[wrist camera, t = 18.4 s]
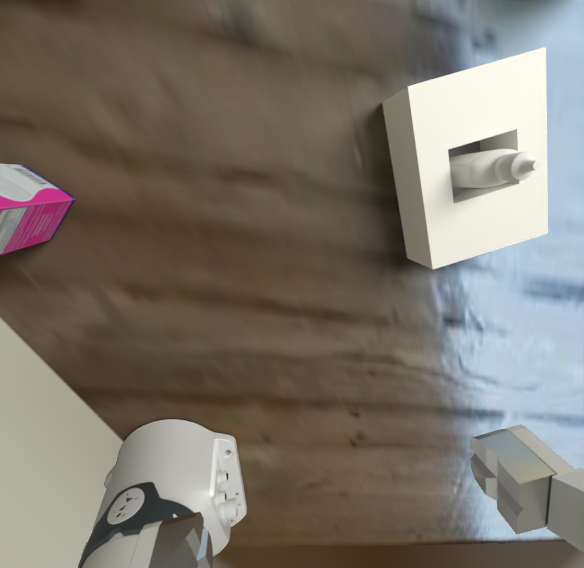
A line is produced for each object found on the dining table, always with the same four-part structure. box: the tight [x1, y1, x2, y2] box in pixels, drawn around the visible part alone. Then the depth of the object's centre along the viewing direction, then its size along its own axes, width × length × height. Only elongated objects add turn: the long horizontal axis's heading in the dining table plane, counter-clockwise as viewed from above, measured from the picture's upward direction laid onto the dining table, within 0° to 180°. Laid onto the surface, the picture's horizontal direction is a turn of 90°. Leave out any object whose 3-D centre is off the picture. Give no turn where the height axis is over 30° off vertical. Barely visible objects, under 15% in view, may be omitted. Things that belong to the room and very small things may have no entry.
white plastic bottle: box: [449, 149, 541, 188], centre depth 32 cm, size 4×6×12 cm
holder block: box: [382, 47, 548, 269], centre depth 36 cm, size 18×14×6 cm
